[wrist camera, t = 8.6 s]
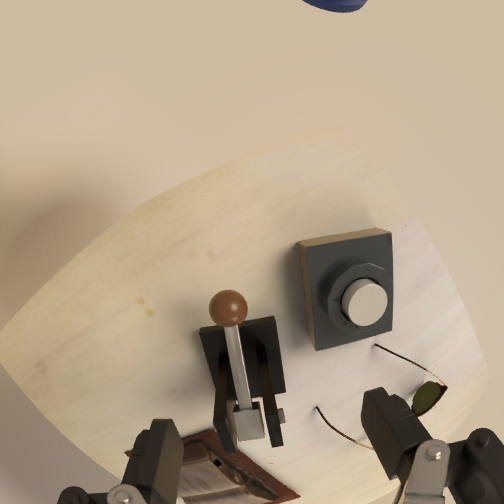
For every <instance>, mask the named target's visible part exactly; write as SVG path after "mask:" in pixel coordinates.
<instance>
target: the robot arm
mask: <svg viewBox="0 0 504 504" xmlns="http://www.w3.org/2000/svg"><path fill="white" fill-rule="evenodd" d="M361 422H362V426H363V428H364V430H365V432H366V434H367V436H368V438H369V440H370V442H371V444H372V446H373V448H374V450H375V452H376V454H377V456H378V458H379V460H380V462H381V464H382V466H383V468H384V470H385V472H386V474H387V476H388V478H389V480H393V479H395V478H397V477H398V478H399V480H400V484H399V487H398V490H397V493H396V495H395V498H394V501H393V503H392V504H445V497H444V496H443V495H442V494H443V489H444V487H448V488H449V490H450V492H451V494H452V496H453V498H454V500H455V502H456V504H504V445H503V444H502V442H501V441H500V440H499V438H498V437H497V436H496V435H495V433H494V432H493V431H491V430H490V429H486V428H479V429H476V430H475V431H473V432H472V433H471V434H470V436H469V437H468V439H466V440H462V441H458V442H454V443H449V444H446V443H445V442H444V441H442V440H438V439H433V438H432V437H431V436H430V434H429V433H428V431H427V430H426V429H425V427H424V426H423V425H422V423H421V422H420V420H419V419H418V418H417V416H416V415H414V412H413V411H412V410H411V409H410V407H409V406H408V404H407V403H406V401H405V400H404V399H402V398H401V397H399V396H397V395H396V394H393V395H391V396H389V395H388V393H387V392H386V391H385V389H384V388H383V387H379V388H376V389H372V390H369V391H366V392H365V393H364V398H363V405H362V411H361ZM133 447H134V448H133V449H132V452H131V456H130V458H129V461H128V464H127V467H126V470H125V473H124V476H123V479H122V482H121V484H120V485H117V486H114V487H113V488H112V489H111V490H110V491H109V492H108V493H95V494H87V493H86V492H85V491H84V490H83V489H82V488H80V487H76V486H73V487H68V488H66V489H65V490H63V491H62V493H61V494H60V497H59V500H58V502H57V504H176V499H177V492H178V485H179V479H180V472H181V466H182V460H183V453H184V447H183V442H182V439H181V437H180V435H179V433H178V431H177V428H176V426H175V424H174V422H173V420H172V419H153V421H152V424H151V427H150V430H143V431H142V432H141V433H140V434H139V435H138V436H137V437H136V440H135V443H134V446H133Z"/></svg>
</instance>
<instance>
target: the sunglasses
mask: <svg viewBox="0 0 504 504" xmlns="http://www.w3.org/2000/svg"><path fill="white" fill-rule="evenodd" d="M375 346H377V347H380V348H382V349H384V350H386V351H388V352H390V353H392V354H394V355H396V356H398V357H400V358H403V359H405V360H407V361H409V362H411V363H413V364H415V365H417V366H419V367H420V368H422V369H424V370H426V371H428V370H427V369H425V368H423V367H422V366H420V365H418V364H416V363H415V362H413V361H411V360H409V359H407V358H405V357H402V356H400V355H398V354H396V353H394V352H392V351H390V350H388V349H386V348H384V347H382V346H380V345H378V344H375ZM428 372H429V371H428ZM430 373H431V372H430ZM431 374H432V373H431ZM433 375H434V374H433ZM434 376H435V375H434ZM435 377H436V376H435ZM439 380H440V379H439ZM440 381H441V380H440ZM441 382H442V381H441ZM442 383H443V382H442ZM443 384H444V383H443ZM447 388H448V387H447V386H446V385H445V384H444V385H443V386H442V385H440V384H439V383H437V382H436V383H434V382H432V381H428V382H426V383H425V384H423V385H422V386H421V387H420V388H419V389H418V390H417V392H416V393H415V395H414V397H413V405H412V406H411V407H412V411H413V412H414V415H416V416H417V417H419V416H421V415H423V414H425V413H426V412H428V411H429V410H430V409H431V408H432V407H433V406H434V405H435V404H436V403H437V402H438V401H439V400H440V398H441V397H442V396H443V394H444V393H445V391H446V390H447ZM316 408H317V410H318V412H319V413H320V415H321V416H322V418H323V419H324V421H325V422H326V423H327V424H328V425H329V426H330V427H331V428H332V429H333V430H335V431H336V432H338V433H339V434H341V435H342V436H344V437H346V438H347V439H349V440H351V441H353V442H355V443H357V444H359V445H362V446H364V447H367V448H369V449H372V450H374V448H371V447H368V446H365V445H363V444H361V443H358V442H357V441H355V440H353V439H352V438H350V437H348V436H346V435H344V434H343V433H341V432H340V431H338V430H337V429H336V428H334V427H333V426H332V425H331V424H330V423H329V422H328V421H327V420H326V419H325V417H324V416H323V414H322V413H321V411H320V409H319V408H318V406H317V407H316Z"/></svg>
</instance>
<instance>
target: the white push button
mask: <svg viewBox="0 0 504 504" xmlns="http://www.w3.org/2000/svg"><path fill="white" fill-rule="evenodd" d="M386 306H387V295H386V292H385V291H384V289H383V288H382V287H380V286H379V285H378V284H376V283H375V282H373V281H371V280H369V279H360V280H357V281H355V282H353V283H352V284H350V285H349V286H348V287H347V289H346V290H345V292H344V294H343V297H342V308H343V311H344V313H345V314H346V315H347V316H348V317H349V318H350V320H351V321H352V322H353V323H355V324H356V325H359V326H367V325H371V324H373V323H375V322H376V321H377V320H379V319H380V317H381V316H382V315H383V313H384V312H385V309H386Z"/></svg>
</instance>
